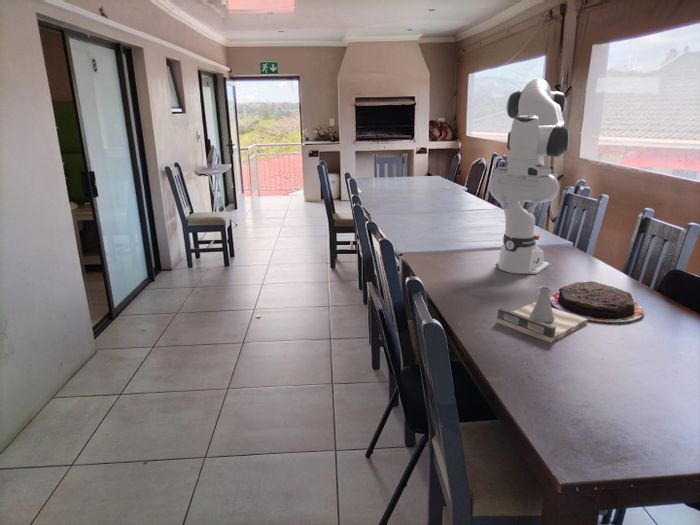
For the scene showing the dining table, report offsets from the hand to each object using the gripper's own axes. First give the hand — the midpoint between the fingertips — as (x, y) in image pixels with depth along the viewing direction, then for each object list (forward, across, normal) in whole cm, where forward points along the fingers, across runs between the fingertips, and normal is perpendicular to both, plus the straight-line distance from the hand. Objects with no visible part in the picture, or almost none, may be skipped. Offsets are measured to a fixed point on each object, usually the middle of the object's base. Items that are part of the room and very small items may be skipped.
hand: (518, 210), depth 157 cm
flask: (+30, +18, -10) cm, 36 cm away
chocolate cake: (+32, +22, +15) cm, 41 cm away
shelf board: (+31, +18, -10) cm, 37 cm away
